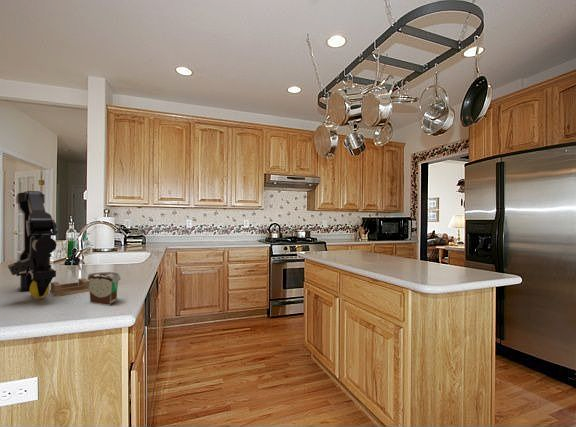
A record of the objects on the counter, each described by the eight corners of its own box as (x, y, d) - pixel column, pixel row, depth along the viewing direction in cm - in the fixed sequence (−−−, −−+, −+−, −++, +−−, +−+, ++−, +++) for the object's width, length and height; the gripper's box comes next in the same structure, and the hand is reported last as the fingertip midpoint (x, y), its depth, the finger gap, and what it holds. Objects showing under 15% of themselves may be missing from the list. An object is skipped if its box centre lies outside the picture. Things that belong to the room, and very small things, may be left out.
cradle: (49, 292, 118) (49, 282, 118) (83, 287, 127) (83, 277, 127) (54, 296, 112) (54, 286, 112) (90, 291, 121) (90, 281, 121)
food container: (128, 301, 108) (128, 273, 108) (113, 305, 102) (113, 276, 102) (102, 297, 112) (103, 270, 112) (87, 302, 106) (87, 273, 106)
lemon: (37, 302, 105) (38, 279, 105) (25, 301, 106) (25, 278, 106) (53, 297, 110) (53, 276, 110) (41, 296, 112) (41, 275, 112)
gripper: (6, 250, 108) (6, 293, 108) (13, 256, 96) (12, 304, 96) (45, 248, 117) (45, 288, 117) (56, 253, 104) (56, 297, 104)
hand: (39, 294), depth 108 cm, fingers closed on lemon, 5 cm apart
